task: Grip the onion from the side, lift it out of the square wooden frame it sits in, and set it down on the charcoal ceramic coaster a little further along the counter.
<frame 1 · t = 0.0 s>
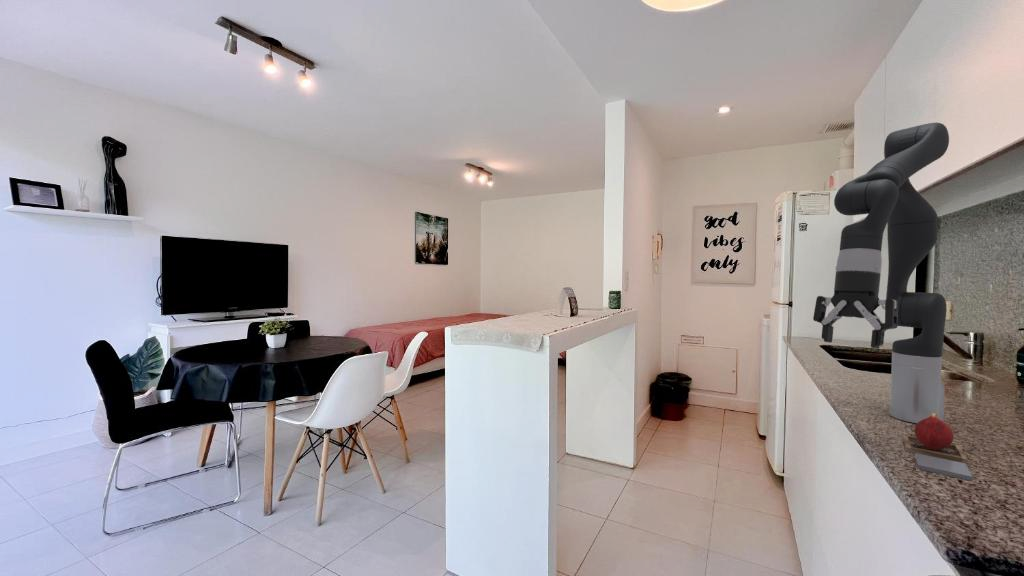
hand: (850, 345, 89), 22 cm above the worktop, tool pointing down, fingers open, 8 cm apart
coaster: (941, 468, 79), on the worktop
onion: (932, 451, 87), resting in square wooden frame
square wooden frame: (932, 450, 87), on the worktop
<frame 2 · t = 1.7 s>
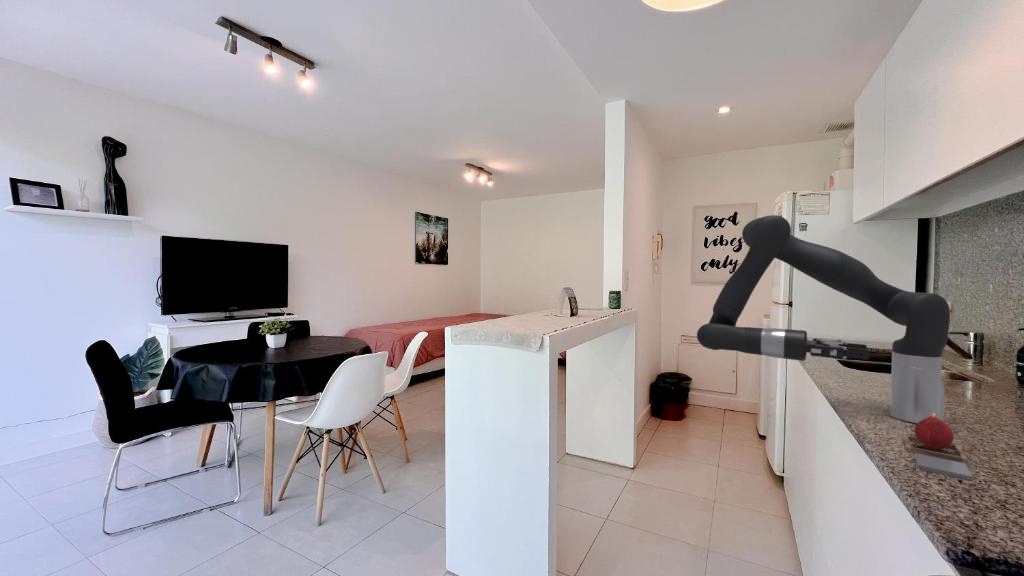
hand: (867, 352, 93), 20 cm above the worktop, tool horizontal, fingers open, 8 cm apart
nothing on the worktop moved.
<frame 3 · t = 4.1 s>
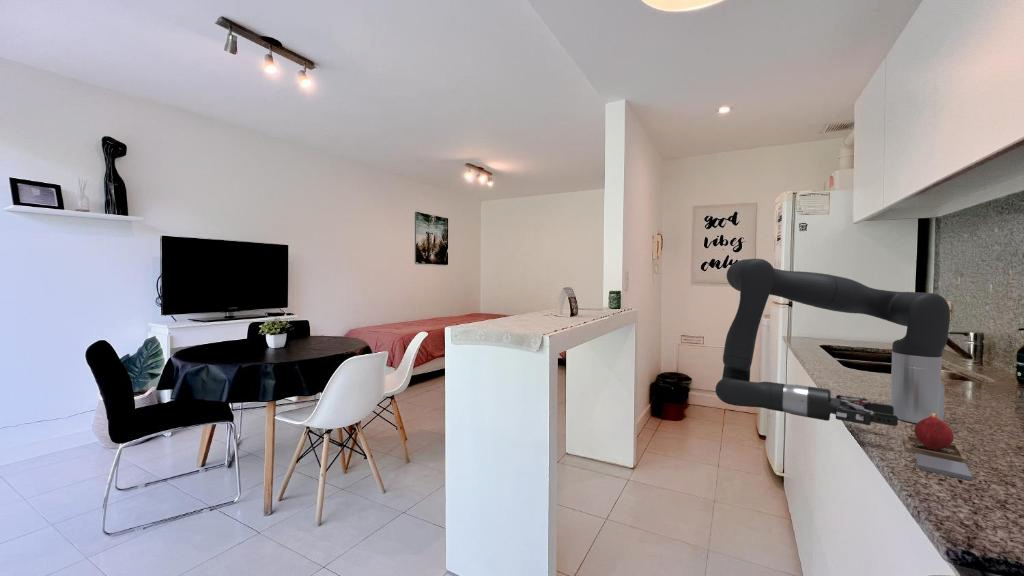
hand: (895, 415, 91), 6 cm above the worktop, tool horizontal, fingers open, 8 cm apart
nothing on the worktop moved.
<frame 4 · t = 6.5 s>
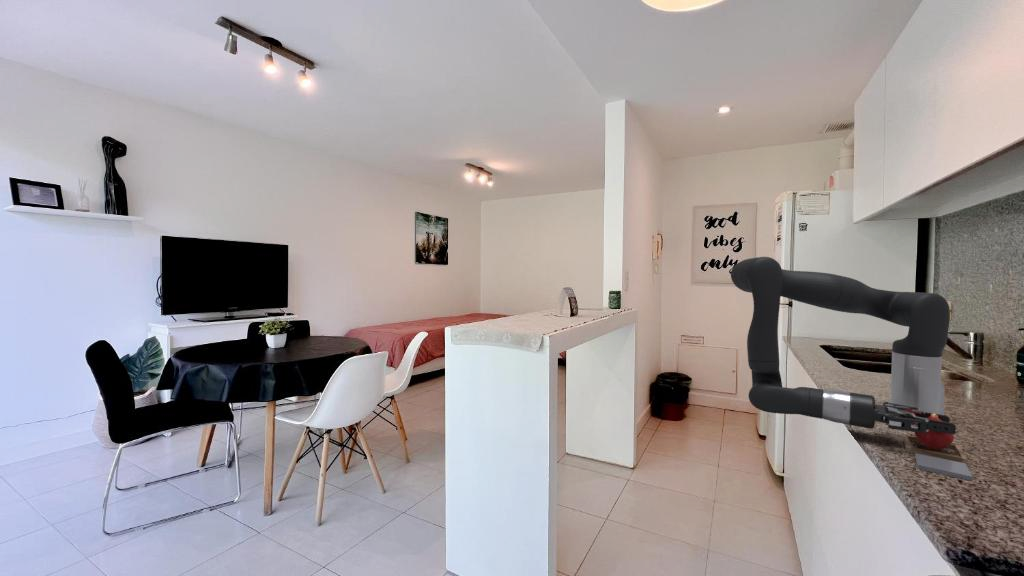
hand: (951, 424, 85), 6 cm above the worktop, tool horizontal, fingers closed on onion, 5 cm apart
onion: (932, 451, 87), resting in square wooden frame, touching gripper
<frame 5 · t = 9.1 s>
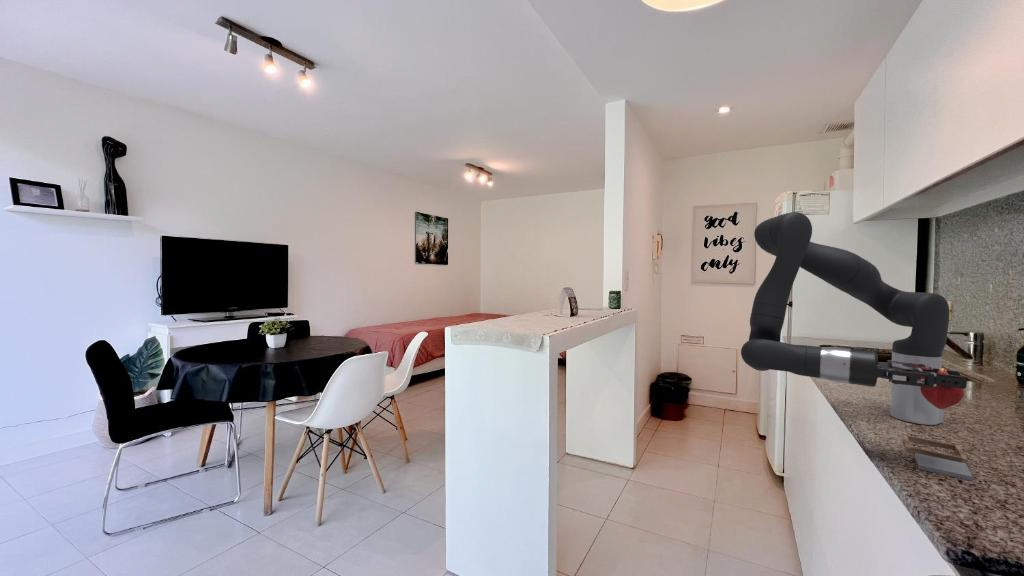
hand: (962, 379, 77), 18 cm above the worktop, tool horizontal, fingers closed on onion, 5 cm apart
onion: (940, 410, 79), point 11 cm above the worktop, touching gripper
when the fingers open (8 cm above the worktop, at t = 11.5 s): onion stays where it is, resting on coaster.
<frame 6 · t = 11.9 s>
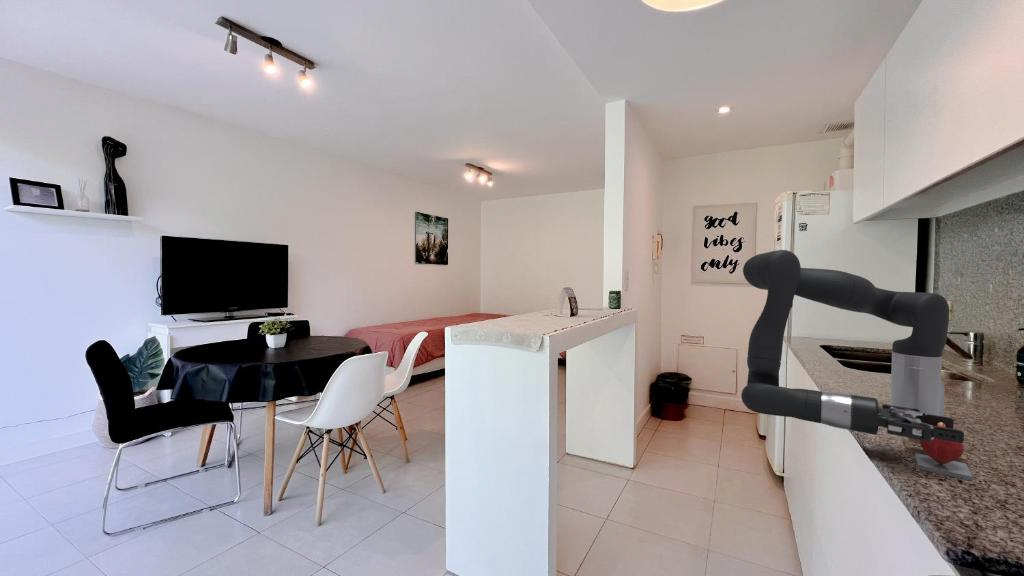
hand: (958, 430, 78), 8 cm above the worktop, tool horizontal, fingers open, 8 cm apart
onion: (941, 464, 79), point 1 cm above the worktop, touching coaster
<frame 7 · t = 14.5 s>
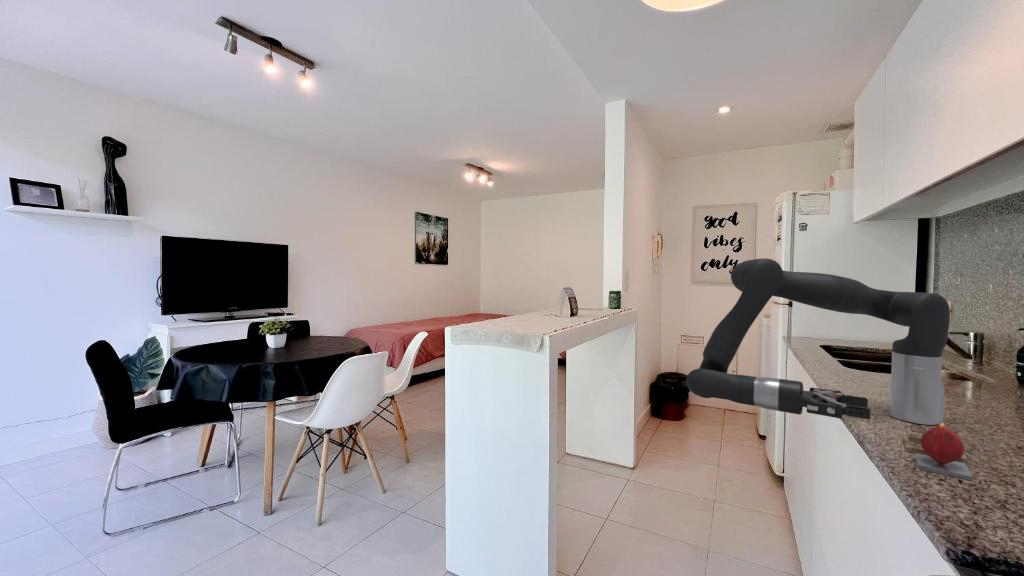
hand: (868, 408, 86), 9 cm above the worktop, tool horizontal, fingers open, 8 cm apart
nothing on the worktop moved.
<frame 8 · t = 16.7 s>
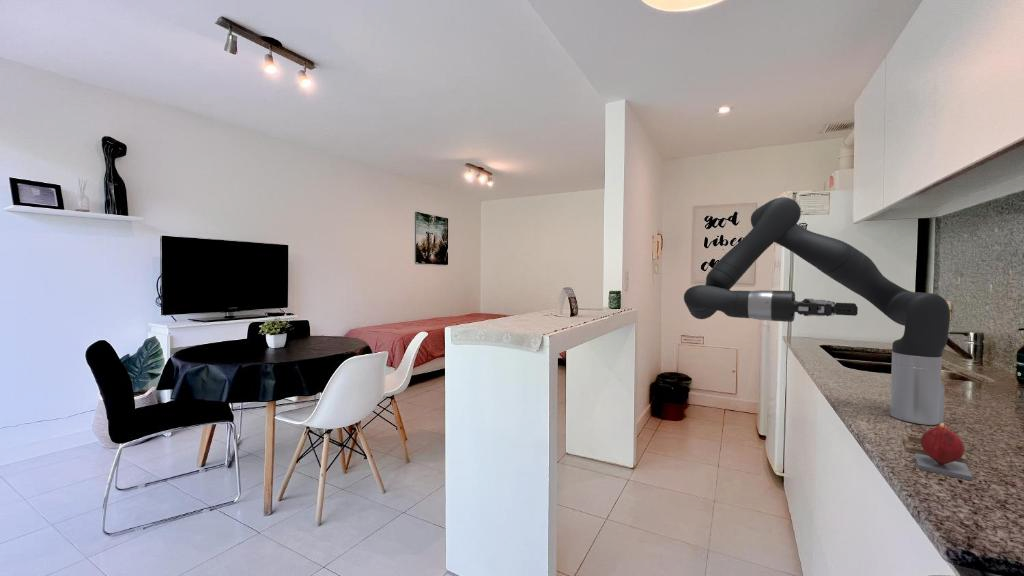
hand: (856, 309, 90), 30 cm above the worktop, tool horizontal, fingers open, 8 cm apart
nothing on the worktop moved.
at the end: onion 0.2 cm off-centre on the coaster, point 0.6 cm above the coaster's base; onion touching coaster; the gripper is holding nothing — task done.
